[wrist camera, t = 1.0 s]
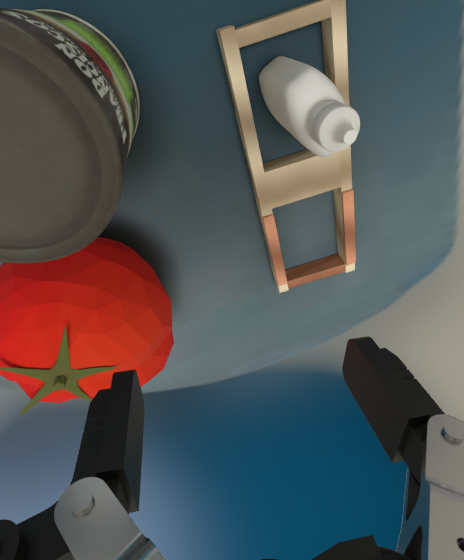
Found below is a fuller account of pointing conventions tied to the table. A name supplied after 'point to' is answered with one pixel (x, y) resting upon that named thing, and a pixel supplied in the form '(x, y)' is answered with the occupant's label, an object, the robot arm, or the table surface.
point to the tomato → (82, 322)
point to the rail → (302, 165)
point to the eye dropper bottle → (308, 106)
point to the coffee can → (60, 133)
